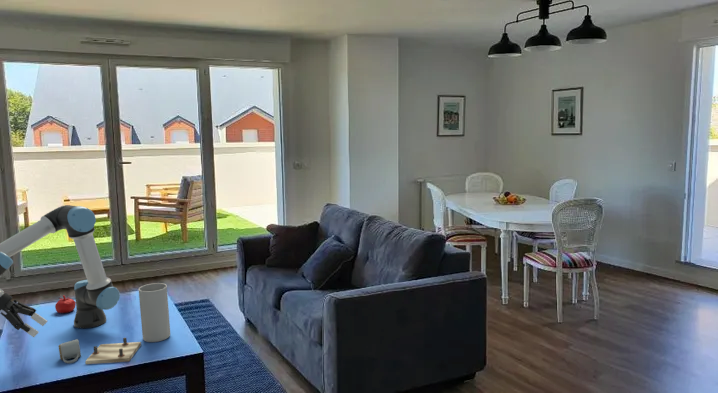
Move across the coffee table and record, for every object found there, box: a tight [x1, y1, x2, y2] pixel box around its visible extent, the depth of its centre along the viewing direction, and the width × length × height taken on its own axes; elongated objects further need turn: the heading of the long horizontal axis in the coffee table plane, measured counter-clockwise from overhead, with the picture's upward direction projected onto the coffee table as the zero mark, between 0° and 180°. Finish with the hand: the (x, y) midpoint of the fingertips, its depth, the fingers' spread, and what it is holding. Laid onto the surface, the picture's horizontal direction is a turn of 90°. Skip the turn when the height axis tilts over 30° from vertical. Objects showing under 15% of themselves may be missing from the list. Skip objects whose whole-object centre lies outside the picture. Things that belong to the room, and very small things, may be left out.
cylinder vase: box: [138, 282, 171, 343], centre depth 259 cm, size 12×12×25 cm
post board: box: [85, 337, 142, 365], centre depth 242 cm, size 18×18×4 cm
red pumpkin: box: [54, 294, 76, 314], centre depth 301 cm, size 10×10×9 cm
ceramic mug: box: [58, 338, 82, 364], centre depth 238 cm, size 11×8×8 cm
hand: (41, 329), depth 235 cm, fingers open, 13 cm apart
